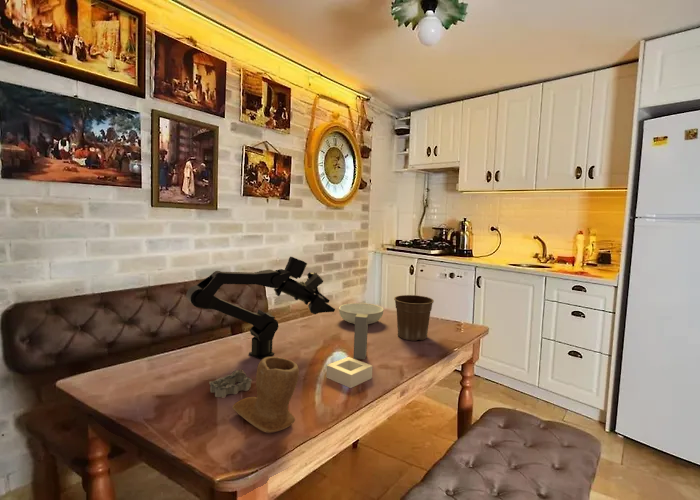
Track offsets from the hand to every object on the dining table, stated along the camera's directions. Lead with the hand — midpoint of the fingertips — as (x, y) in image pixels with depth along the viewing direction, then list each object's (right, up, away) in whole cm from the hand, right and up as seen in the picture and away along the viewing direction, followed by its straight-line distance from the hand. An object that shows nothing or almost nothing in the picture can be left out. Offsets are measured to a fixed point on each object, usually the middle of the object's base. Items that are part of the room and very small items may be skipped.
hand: (331, 305), depth 146 cm
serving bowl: (+12, -13, +36) cm, 40 cm away
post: (+10, -17, -8) cm, 21 cm away
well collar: (+7, -19, -26) cm, 32 cm away
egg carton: (-27, -19, -36) cm, 49 cm away
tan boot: (-13, -21, -51) cm, 57 cm away
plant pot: (+33, -16, +18) cm, 40 cm away
